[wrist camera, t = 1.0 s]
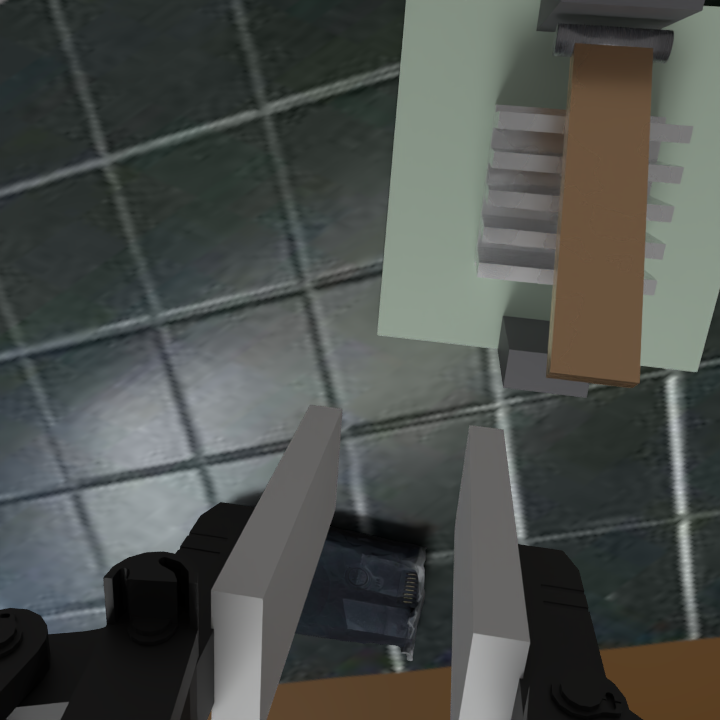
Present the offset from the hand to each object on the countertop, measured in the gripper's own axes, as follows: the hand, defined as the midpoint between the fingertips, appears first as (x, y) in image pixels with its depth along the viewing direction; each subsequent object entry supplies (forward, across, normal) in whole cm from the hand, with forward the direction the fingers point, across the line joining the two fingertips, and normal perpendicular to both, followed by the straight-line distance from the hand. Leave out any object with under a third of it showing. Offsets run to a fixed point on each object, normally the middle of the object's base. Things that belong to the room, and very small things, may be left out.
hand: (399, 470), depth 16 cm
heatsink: (+23, +6, +5) cm, 25 cm away
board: (+25, +6, +4) cm, 26 cm away
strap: (+14, +6, +5) cm, 16 cm away
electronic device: (+25, -6, -22) cm, 34 cm away
